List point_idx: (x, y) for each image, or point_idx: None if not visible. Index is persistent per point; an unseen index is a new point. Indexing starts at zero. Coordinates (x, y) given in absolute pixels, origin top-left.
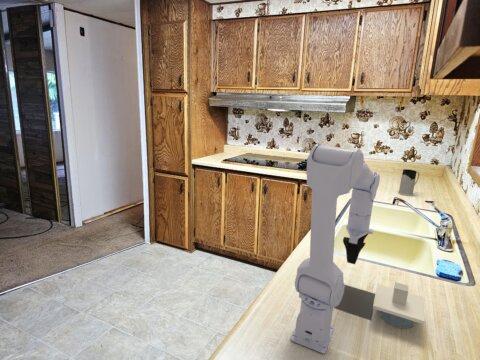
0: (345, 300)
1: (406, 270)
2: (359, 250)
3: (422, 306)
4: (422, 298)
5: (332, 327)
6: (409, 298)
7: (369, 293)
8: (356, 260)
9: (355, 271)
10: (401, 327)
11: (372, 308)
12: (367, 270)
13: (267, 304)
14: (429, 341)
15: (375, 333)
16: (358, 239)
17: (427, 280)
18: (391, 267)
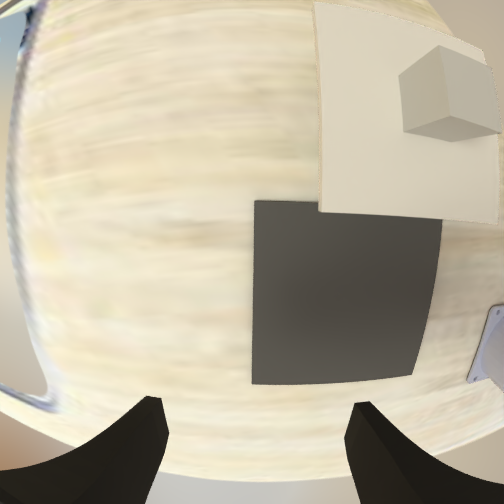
0: (370, 313)
1: (14, 128)
2: (462, 477)
3: (402, 22)
4: (335, 6)
5: (496, 311)
6: (375, 56)
7: (267, 231)
8: (385, 418)
9: (108, 304)
10: None
11: None
12: (73, 259)
13: (431, 445)
14: None
15: None
16: (124, 495)
17: (48, 57)
18: (15, 177)
